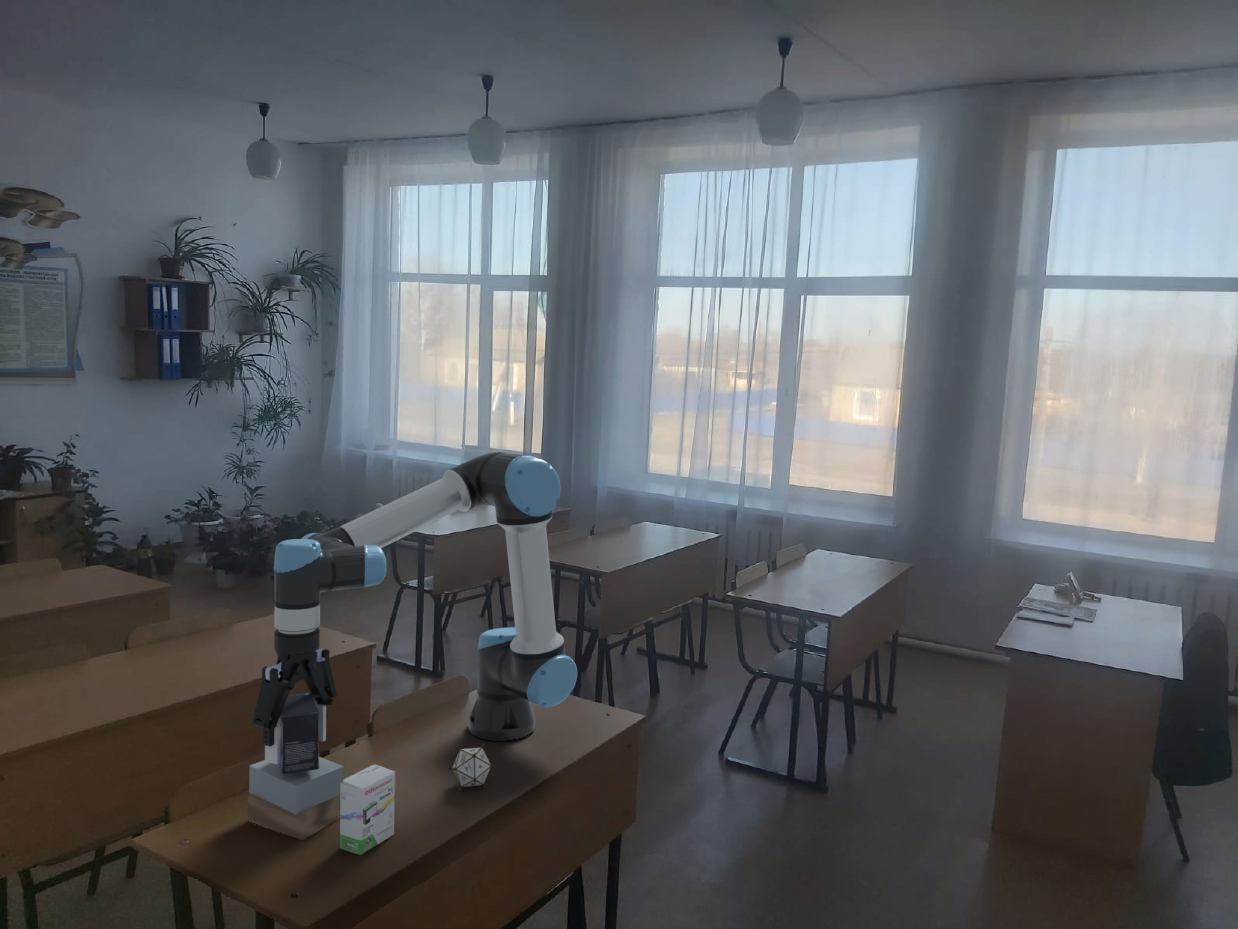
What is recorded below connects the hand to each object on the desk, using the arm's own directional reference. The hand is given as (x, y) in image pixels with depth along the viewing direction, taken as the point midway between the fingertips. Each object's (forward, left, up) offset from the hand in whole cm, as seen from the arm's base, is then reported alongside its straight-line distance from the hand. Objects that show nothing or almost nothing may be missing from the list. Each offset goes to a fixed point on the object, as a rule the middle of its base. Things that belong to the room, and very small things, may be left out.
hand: (296, 750), depth 158 cm
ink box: (0, +16, -13) cm, 21 cm away
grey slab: (0, 0, -8) cm, 8 cm away
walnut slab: (0, 0, -13) cm, 13 cm away
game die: (-26, +20, -13) cm, 35 cm away
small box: (0, 0, -2) cm, 2 cm away
